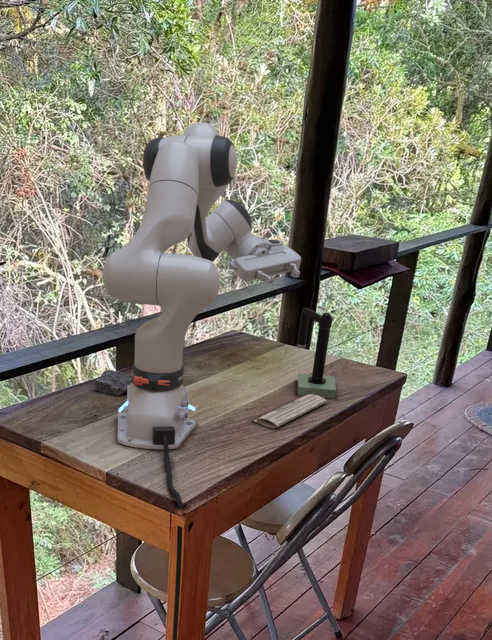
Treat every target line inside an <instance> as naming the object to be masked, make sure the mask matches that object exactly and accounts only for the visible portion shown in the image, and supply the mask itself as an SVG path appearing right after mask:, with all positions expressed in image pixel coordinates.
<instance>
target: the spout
mask: <svg viewBox="0 0 492 640" xmlns="http://www.w3.org/2000/svg"><path fill="white" fill-rule="evenodd" d="M310 319H311V320H312V321H314V322H317V323H318V324H317V325H318V328H319V327H321V328H330V329H331V328H332V327H333V321H334V320H333V319H334V318H333V316H332V315H331V313H329V312H323V313H322V314H320V313H318V312H316V311H314V310H312V309H310V308H308V307H303V308H302V310H301V315H300V321H299V329H298V338H297V343H296V348H299V349H306V347H307V336H308V327H309V321H310Z"/></svg>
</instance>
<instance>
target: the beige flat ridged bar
mask: <svg viewBox="0 0 492 640" xmlns="http://www.w3.org/2000/svg"><path fill="white" fill-rule="evenodd" d="M326 403H327V399H326V398H322V397H320V396H318V395H313V394H309V395H305V396H300V397H298V398H297V399H295V400H293V401H291V402H288V403H286V404H285V405H283V406H281V407H279V408H276V409H273V410H272V411H270V412H268V413H266V414H263V415H261V416H260V417H257V418H256V419H254V420H253V422H255V423H257V424H260V425H262V426H264V427H266V428H269V429H277V428H279V427H281V426H283V425H285V424H287V423H289V422H290V421H293V420H295V419H297V418H298V417H300V416H302V415H304V414H307V413H308V412H311V411H312V410H315V409H317V408H318V407H321V406H322V405H324V404H326Z"/></svg>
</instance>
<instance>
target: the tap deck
mask: <svg viewBox="0 0 492 640" xmlns="http://www.w3.org/2000/svg"><path fill="white" fill-rule="evenodd" d="M309 377H312V373H311V374H310V373H300V372H299V373H297V380H296V395H297V396H298V397H299V396H300V397H303V396H305V395H309V394H313V395H318V396H320V397H322V398H324V399H333V400H334V399H336V394H337V386H336V378H335V376H334V375H324V374H323V378H324V379H326V383H324V384H313V383H310V382H308V378H309Z"/></svg>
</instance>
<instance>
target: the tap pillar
mask: <svg viewBox="0 0 492 640" xmlns="http://www.w3.org/2000/svg"><path fill="white" fill-rule="evenodd" d="M330 333H331V328H321V327H319V326H318V330H317V339H316V343H315V352H314V359H313V365H312V372H311V374H312V377H309V378H308V382H310V383H313V384H324V383H326V379H324V378H323V375H324V374H325V367H326V360H327V354H328V348H329V347H328V346H329V341H330Z"/></svg>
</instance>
